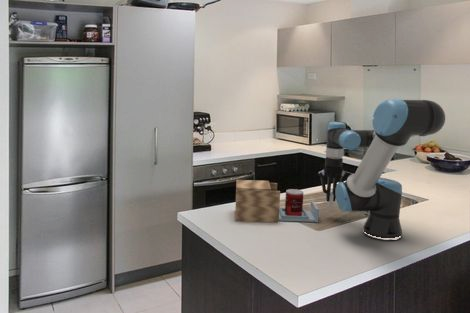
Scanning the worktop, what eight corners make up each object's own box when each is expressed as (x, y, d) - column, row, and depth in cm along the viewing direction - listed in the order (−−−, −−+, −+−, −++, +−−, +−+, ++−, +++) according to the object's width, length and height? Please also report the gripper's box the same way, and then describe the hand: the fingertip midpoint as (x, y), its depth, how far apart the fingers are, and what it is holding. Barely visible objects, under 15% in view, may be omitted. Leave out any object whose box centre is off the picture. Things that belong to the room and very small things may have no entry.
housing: (275, 211, 200) (277, 181, 197) (278, 222, 185) (280, 189, 182) (235, 210, 200) (236, 179, 197) (235, 221, 185) (236, 187, 182)
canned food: (290, 211, 197) (291, 188, 195) (305, 214, 193) (306, 191, 191) (281, 214, 192) (282, 191, 190) (296, 218, 187) (298, 194, 185)
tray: (314, 213, 199) (315, 200, 198) (319, 222, 186) (320, 209, 185) (271, 211, 199) (272, 199, 198) (273, 220, 186) (274, 207, 185)
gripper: (346, 155, 191) (342, 206, 195) (317, 155, 191) (314, 205, 195) (351, 159, 184) (346, 211, 188) (321, 158, 184) (317, 210, 188)
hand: (330, 208), depth 192 cm, fingers closed
